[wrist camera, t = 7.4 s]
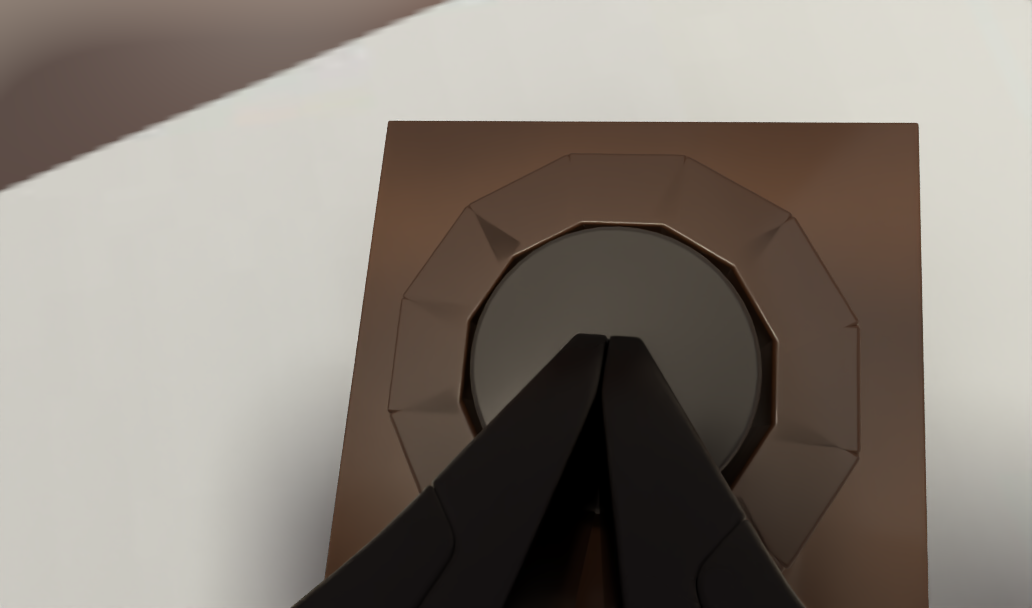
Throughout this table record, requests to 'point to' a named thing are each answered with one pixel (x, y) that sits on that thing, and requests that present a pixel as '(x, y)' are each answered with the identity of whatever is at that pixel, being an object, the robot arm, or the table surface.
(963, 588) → the table surface
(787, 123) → the block
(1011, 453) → the table surface
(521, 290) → the button
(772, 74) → the table surface
